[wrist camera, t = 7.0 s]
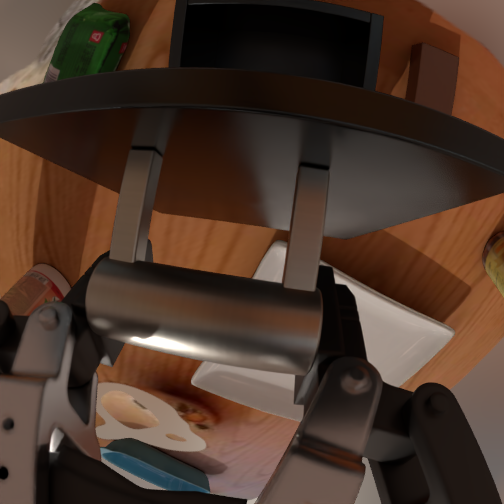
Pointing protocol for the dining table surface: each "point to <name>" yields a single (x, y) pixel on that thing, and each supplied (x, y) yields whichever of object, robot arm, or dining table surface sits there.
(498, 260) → the sauce bottle
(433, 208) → the bin lid
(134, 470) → the casserole dish
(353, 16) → the waste bin
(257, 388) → the square plate
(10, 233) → the dining table surface
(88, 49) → the snack package
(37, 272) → the fruit juice
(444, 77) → the chocolate bar
